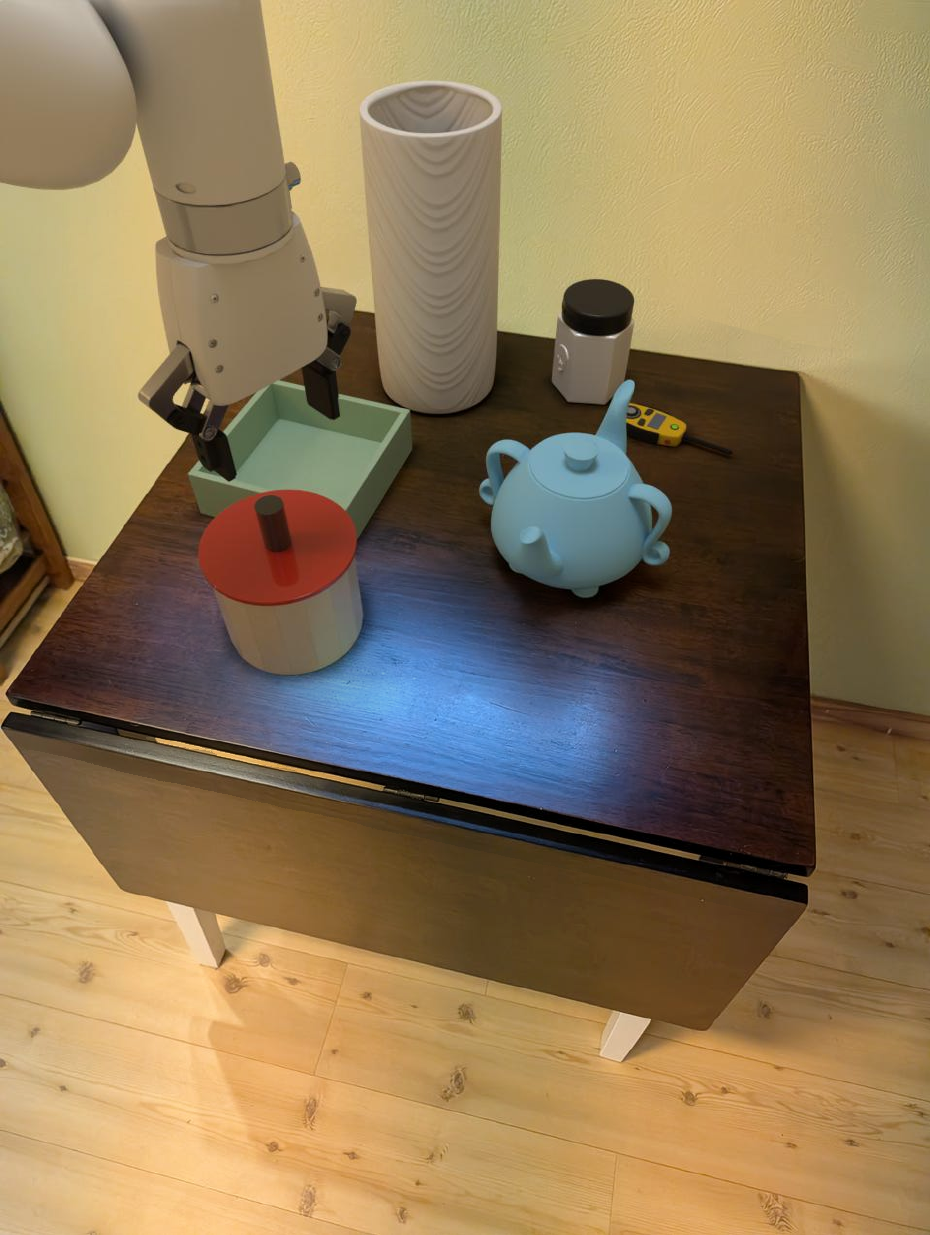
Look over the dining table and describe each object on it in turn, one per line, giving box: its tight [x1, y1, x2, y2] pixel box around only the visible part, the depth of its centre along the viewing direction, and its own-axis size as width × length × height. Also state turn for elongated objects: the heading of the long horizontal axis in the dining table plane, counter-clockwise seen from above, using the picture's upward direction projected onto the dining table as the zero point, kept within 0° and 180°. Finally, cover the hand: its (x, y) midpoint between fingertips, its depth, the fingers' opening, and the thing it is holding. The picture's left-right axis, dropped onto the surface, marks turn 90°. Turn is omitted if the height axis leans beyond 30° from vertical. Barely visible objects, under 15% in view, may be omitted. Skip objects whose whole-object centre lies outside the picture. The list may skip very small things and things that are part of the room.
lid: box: [197, 490, 358, 606], centre depth 72 cm, size 14×14×6 cm
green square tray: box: [187, 379, 413, 541], centre depth 92 cm, size 18×18×6 cm
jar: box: [551, 278, 635, 406], centre depth 101 cm, size 9×8×12 cm
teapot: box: [478, 379, 673, 598], centre depth 82 cm, size 16×20×14 cm
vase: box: [358, 80, 503, 415], centre depth 93 cm, size 14×14×32 cm
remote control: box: [626, 402, 734, 456], centre depth 98 cm, size 5×2×15 cm
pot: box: [212, 555, 364, 676], centre depth 77 cm, size 13×13×10 cm
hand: (274, 440), depth 63 cm, fingers open, 9 cm apart
